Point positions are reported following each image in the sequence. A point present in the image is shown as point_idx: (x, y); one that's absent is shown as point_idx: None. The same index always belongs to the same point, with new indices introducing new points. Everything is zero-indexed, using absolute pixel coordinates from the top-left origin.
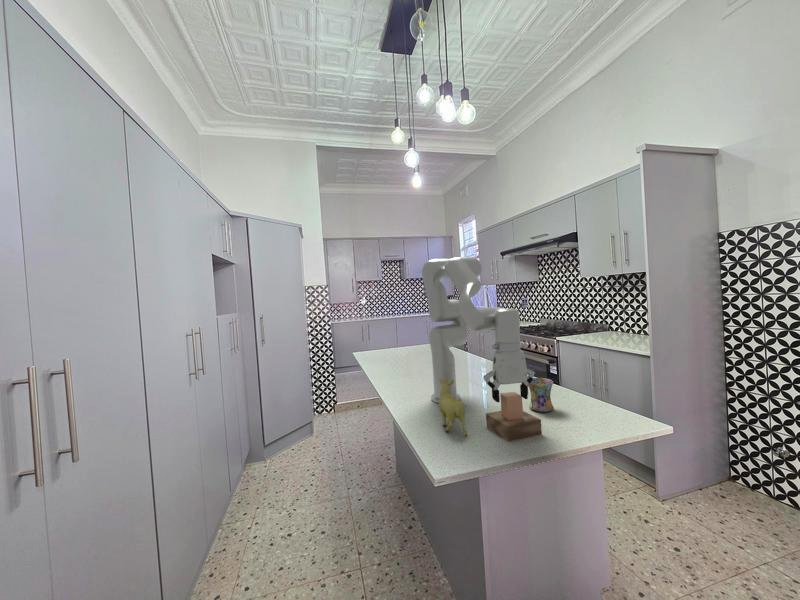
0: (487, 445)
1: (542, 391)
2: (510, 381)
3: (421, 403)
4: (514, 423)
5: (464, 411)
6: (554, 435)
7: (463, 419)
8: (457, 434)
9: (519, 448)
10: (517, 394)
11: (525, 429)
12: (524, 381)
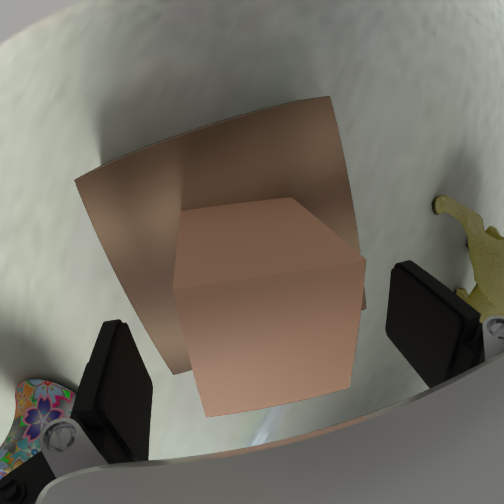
0: (396, 96)
1: (26, 449)
2: (435, 424)
3: None
4: (273, 134)
5: (495, 259)
6: (51, 148)
7: (479, 236)
8: (453, 219)
9: (276, 30)
10: (203, 356)
11: (197, 129)
12: (91, 469)
